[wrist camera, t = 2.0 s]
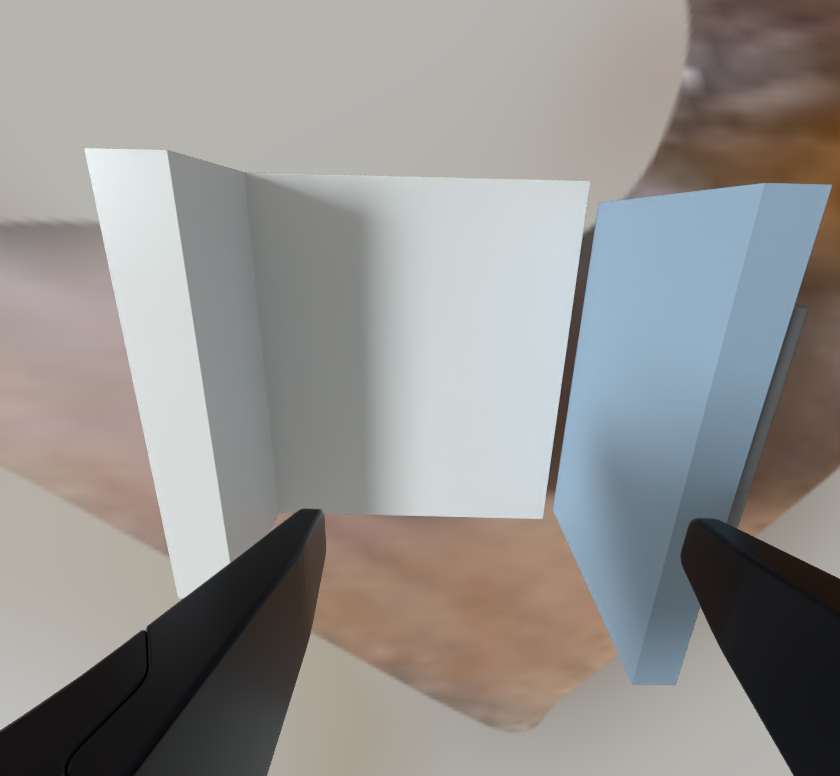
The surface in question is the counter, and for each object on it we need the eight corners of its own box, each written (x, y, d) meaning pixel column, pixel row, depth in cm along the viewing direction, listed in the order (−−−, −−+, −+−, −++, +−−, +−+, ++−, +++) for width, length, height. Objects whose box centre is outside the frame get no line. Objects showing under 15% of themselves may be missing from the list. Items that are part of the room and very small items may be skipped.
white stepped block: (564, 187, 18) (663, 162, 11) (528, 483, 23) (578, 607, 16) (223, 179, 18) (84, 147, 11) (257, 476, 23) (178, 597, 16)
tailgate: (662, 204, 15) (888, 186, 8) (602, 511, 20) (711, 686, 12) (598, 202, 15) (764, 183, 8) (552, 509, 20) (632, 684, 12)
